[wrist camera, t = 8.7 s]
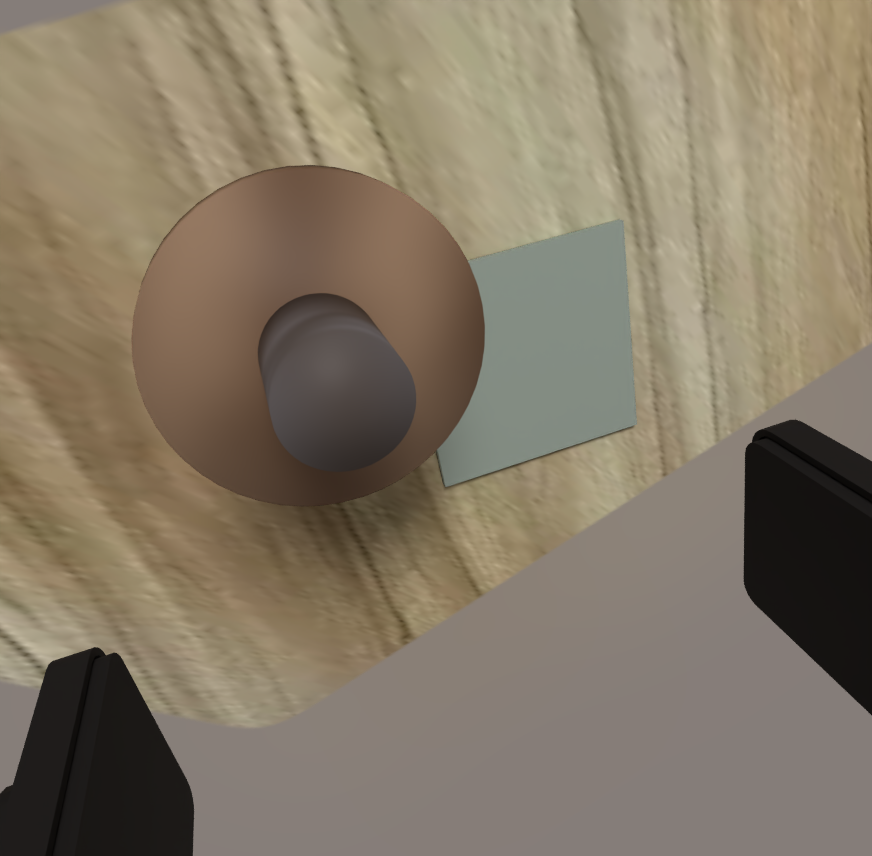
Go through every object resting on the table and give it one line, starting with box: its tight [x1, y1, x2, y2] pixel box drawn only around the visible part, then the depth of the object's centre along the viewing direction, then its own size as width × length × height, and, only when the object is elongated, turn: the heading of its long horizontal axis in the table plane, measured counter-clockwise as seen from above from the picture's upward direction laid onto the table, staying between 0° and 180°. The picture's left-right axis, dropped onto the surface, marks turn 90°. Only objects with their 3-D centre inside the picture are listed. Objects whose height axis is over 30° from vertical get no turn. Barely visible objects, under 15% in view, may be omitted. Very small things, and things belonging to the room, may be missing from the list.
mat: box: [436, 220, 637, 487], centre depth 37 cm, size 12×12×1 cm
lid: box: [132, 165, 485, 506], centre depth 19 cm, size 10×10×5 cm
